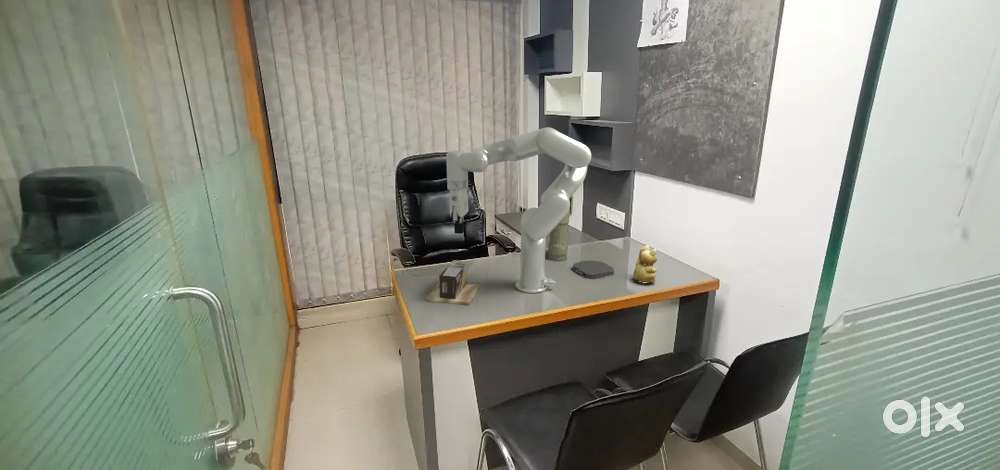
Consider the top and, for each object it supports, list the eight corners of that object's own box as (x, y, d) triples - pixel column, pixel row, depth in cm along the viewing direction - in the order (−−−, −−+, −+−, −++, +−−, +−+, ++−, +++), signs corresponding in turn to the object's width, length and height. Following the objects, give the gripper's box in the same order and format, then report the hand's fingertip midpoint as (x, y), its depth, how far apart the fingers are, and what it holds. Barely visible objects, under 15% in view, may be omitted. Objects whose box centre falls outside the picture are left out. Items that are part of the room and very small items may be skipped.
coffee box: (452, 259, 180) (438, 274, 165) (468, 261, 178) (455, 276, 163) (452, 281, 182) (439, 297, 167) (468, 283, 181) (456, 299, 166)
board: (479, 287, 179) (479, 285, 179) (469, 305, 164) (469, 302, 164) (439, 283, 182) (439, 281, 182) (426, 300, 167) (426, 298, 167)
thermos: (573, 259, 212) (578, 184, 201) (552, 263, 206) (556, 186, 196) (562, 253, 219) (566, 180, 209) (541, 256, 214) (544, 182, 203)
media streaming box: (617, 275, 194) (618, 269, 193) (589, 281, 188) (589, 274, 187) (596, 264, 207) (596, 258, 206) (569, 269, 201) (569, 262, 200)
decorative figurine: (659, 284, 185) (663, 248, 181) (644, 288, 181) (649, 252, 177) (640, 276, 193) (644, 242, 189) (626, 279, 189) (630, 245, 185)
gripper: (462, 189, 160) (463, 239, 165) (472, 181, 174) (473, 227, 180) (441, 188, 161) (443, 238, 167) (453, 181, 175) (454, 227, 181)
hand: (459, 232), depth 173 cm, fingers closed
